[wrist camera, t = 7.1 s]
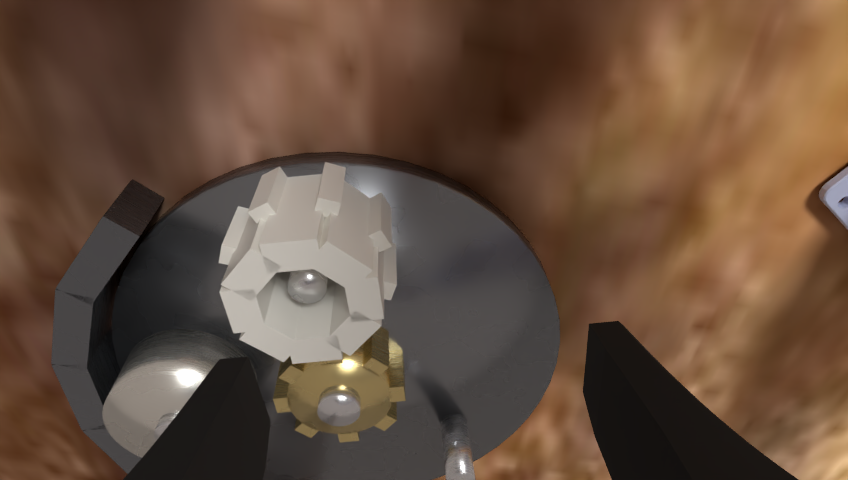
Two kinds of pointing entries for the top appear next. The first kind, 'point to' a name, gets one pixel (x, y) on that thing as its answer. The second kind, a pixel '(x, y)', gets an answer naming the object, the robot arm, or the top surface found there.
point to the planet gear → (308, 265)
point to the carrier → (315, 381)
